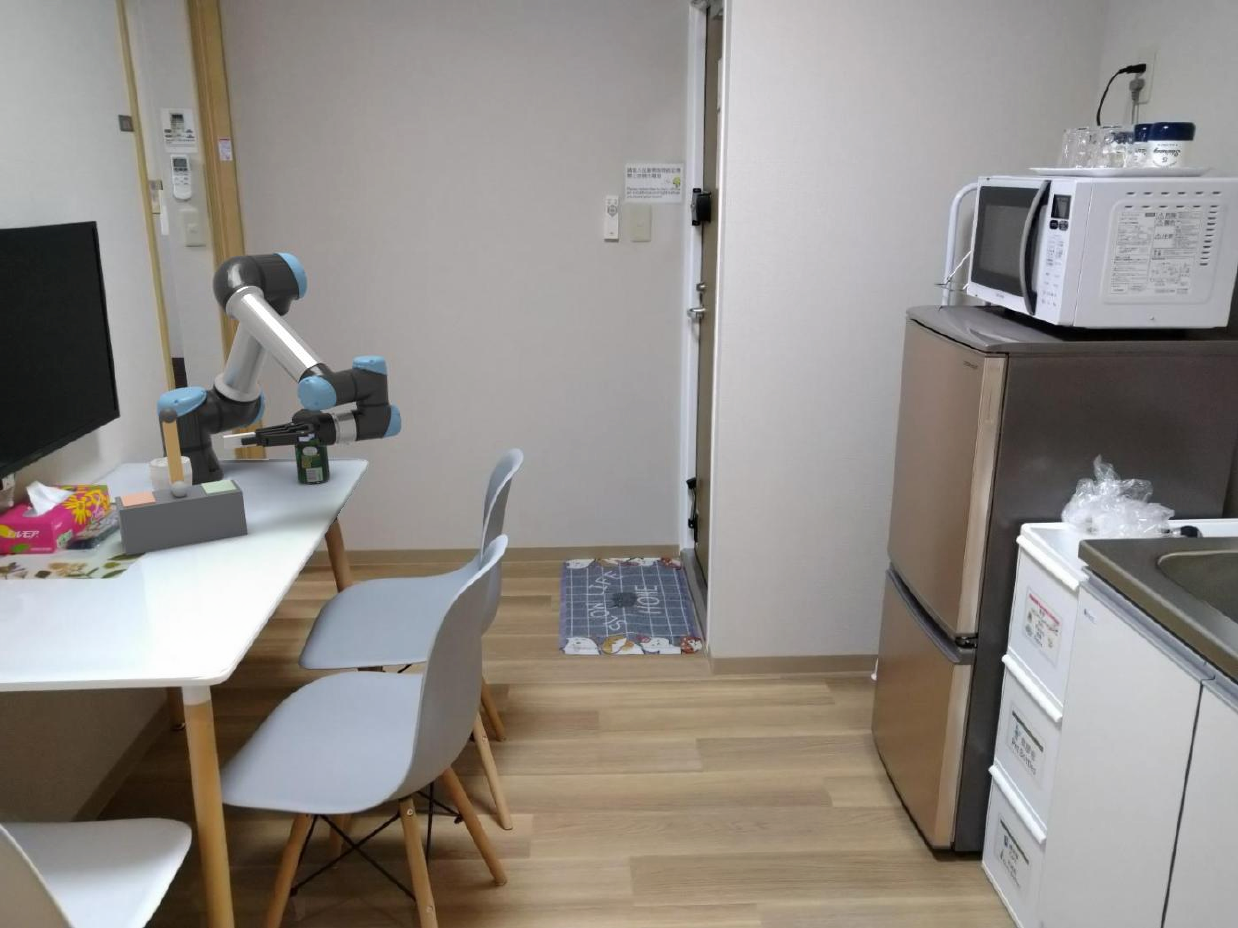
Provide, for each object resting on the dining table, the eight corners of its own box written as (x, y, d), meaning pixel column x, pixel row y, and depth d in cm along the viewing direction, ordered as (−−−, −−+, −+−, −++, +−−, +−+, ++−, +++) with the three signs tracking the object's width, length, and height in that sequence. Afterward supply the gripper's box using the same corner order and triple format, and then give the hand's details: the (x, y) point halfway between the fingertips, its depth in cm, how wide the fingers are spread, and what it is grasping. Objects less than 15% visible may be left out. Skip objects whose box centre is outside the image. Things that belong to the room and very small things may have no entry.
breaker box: (121, 540, 205) (114, 495, 202) (238, 520, 217) (233, 477, 214) (126, 555, 197) (118, 508, 194) (247, 534, 209) (242, 489, 206)
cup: (162, 518, 218) (154, 469, 215) (150, 509, 225) (143, 460, 221) (202, 510, 224) (195, 461, 221) (189, 501, 230) (183, 453, 227)
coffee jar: (300, 474, 251) (293, 406, 246) (331, 473, 252) (325, 405, 247) (295, 486, 242) (288, 415, 237) (327, 484, 243) (321, 413, 238)
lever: (167, 490, 205) (155, 405, 200) (185, 487, 207) (174, 403, 202) (171, 497, 200) (159, 411, 195) (190, 495, 202) (178, 409, 197)
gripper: (342, 450, 214) (232, 466, 202) (326, 438, 224) (220, 452, 213) (339, 418, 212) (227, 432, 200) (323, 407, 222) (216, 419, 210)
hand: (224, 442), depth 206 cm, fingers closed
